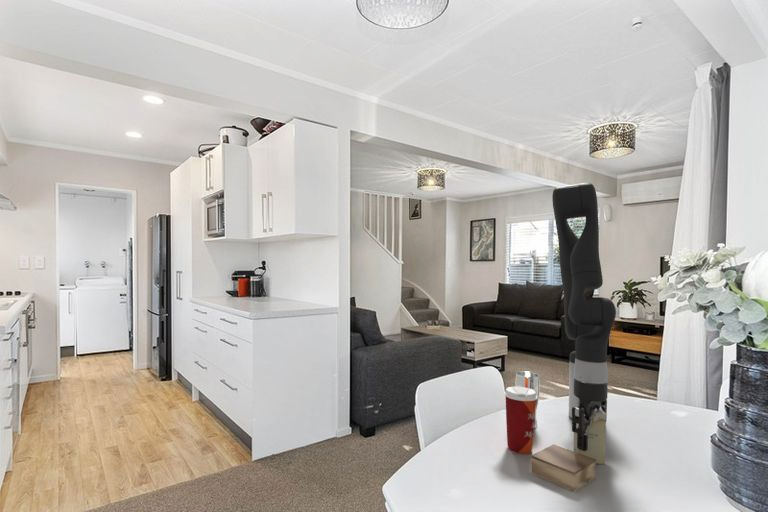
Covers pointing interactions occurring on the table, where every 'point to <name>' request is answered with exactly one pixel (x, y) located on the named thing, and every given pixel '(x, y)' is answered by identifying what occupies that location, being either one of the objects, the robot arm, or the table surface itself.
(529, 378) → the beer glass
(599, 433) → the skincare box
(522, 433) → the coffee cup
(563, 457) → the pedestal
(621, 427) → the table surface
